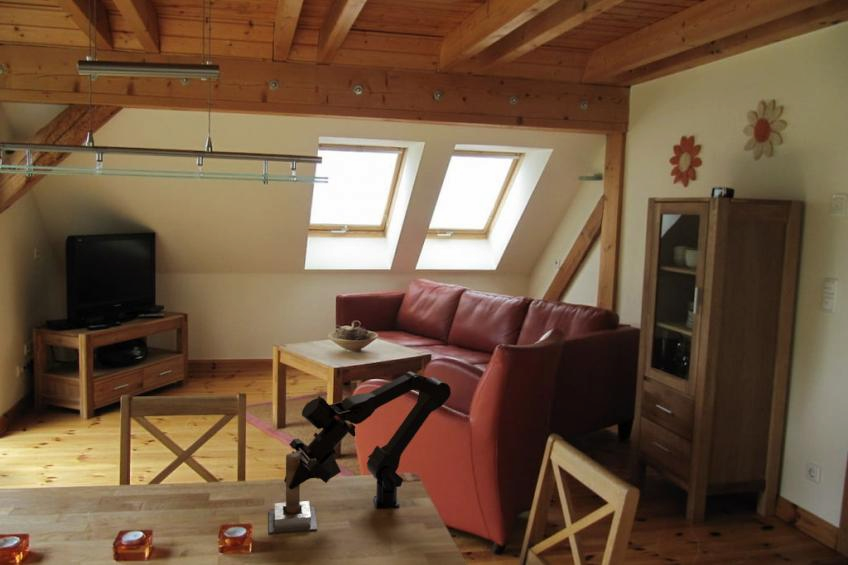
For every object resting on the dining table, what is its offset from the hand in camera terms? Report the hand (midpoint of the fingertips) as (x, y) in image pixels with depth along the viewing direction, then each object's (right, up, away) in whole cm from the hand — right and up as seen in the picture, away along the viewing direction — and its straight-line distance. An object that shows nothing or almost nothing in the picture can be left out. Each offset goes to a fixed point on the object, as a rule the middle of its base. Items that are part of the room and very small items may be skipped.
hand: (287, 485), depth 181 cm
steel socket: (+1, -10, +2) cm, 10 cm away
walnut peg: (+1, -8, +2) cm, 8 cm away
